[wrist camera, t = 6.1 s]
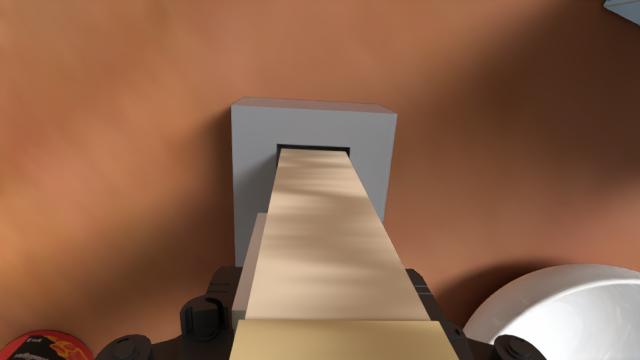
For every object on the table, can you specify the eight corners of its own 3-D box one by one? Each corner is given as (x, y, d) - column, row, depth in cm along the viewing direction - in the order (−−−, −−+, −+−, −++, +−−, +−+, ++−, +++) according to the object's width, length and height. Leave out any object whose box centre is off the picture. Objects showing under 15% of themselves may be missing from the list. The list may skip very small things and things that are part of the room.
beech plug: (277, 235, 23) (235, 573, 8) (279, 146, 21) (226, 371, 6) (339, 237, 23) (412, 565, 8) (347, 150, 21) (464, 369, 6)
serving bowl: (668, 328, 35) (753, 389, 28) (497, 431, 38) (537, 506, 32) (577, 189, 29) (658, 227, 22) (386, 327, 32) (408, 394, 26)
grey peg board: (247, 352, 32) (238, 401, 28) (244, 96, 24) (231, 105, 20) (350, 352, 33) (359, 400, 28) (379, 104, 25) (397, 114, 20)
